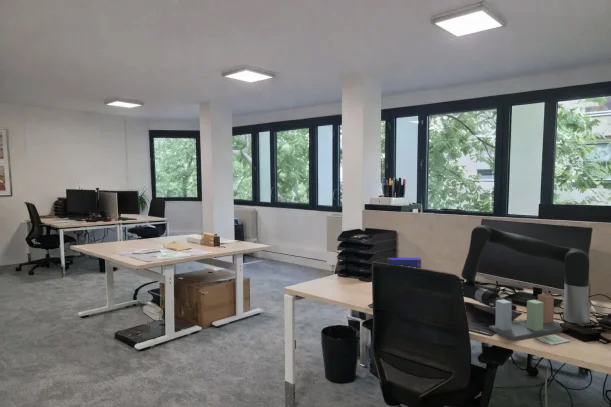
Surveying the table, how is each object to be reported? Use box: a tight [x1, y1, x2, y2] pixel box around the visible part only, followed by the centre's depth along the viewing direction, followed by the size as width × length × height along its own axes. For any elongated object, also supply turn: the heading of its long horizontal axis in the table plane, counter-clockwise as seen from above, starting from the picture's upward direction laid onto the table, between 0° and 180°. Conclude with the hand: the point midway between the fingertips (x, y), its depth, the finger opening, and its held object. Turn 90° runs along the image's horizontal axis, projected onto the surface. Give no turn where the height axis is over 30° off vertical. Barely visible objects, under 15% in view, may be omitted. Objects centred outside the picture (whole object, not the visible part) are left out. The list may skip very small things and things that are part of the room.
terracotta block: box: [537, 293, 555, 323], centre depth 180 cm, size 4×4×12 cm
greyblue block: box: [494, 298, 513, 331], centre depth 173 cm, size 4×4×12 cm
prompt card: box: [536, 333, 571, 346], centre depth 164 cm, size 10×7×1 cm
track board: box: [488, 319, 563, 341], centre depth 175 cm, size 31×13×2 cm, turn 108°
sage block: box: [526, 299, 544, 331], centre depth 171 cm, size 4×4×12 cm
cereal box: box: [387, 257, 422, 269], centre depth 218 cm, size 17×5×24 cm, turn 84°
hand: (515, 308), depth 181 cm, fingers closed
